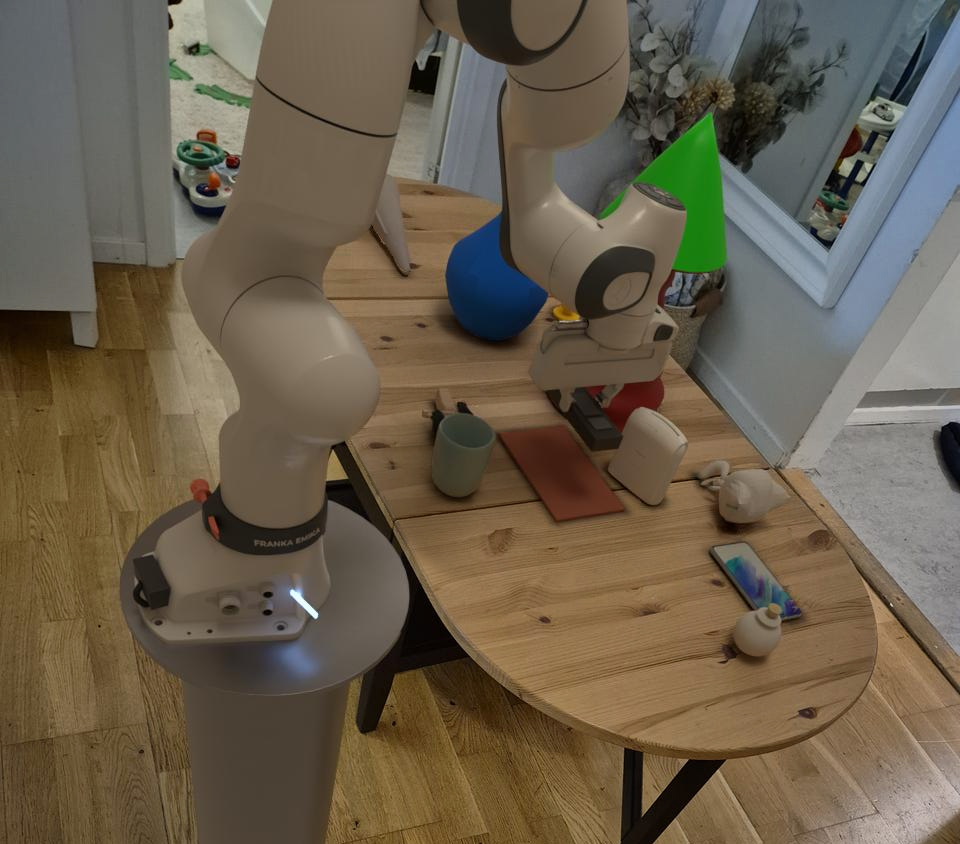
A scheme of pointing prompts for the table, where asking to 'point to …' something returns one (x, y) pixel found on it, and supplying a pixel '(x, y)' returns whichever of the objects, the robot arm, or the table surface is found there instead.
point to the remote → (590, 421)
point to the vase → (490, 287)
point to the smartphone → (753, 578)
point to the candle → (564, 313)
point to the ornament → (759, 630)
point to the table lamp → (703, 247)
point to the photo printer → (648, 455)
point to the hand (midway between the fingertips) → (583, 407)
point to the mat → (560, 473)
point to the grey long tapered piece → (392, 223)
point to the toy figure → (444, 408)
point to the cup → (461, 453)
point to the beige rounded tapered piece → (744, 492)
